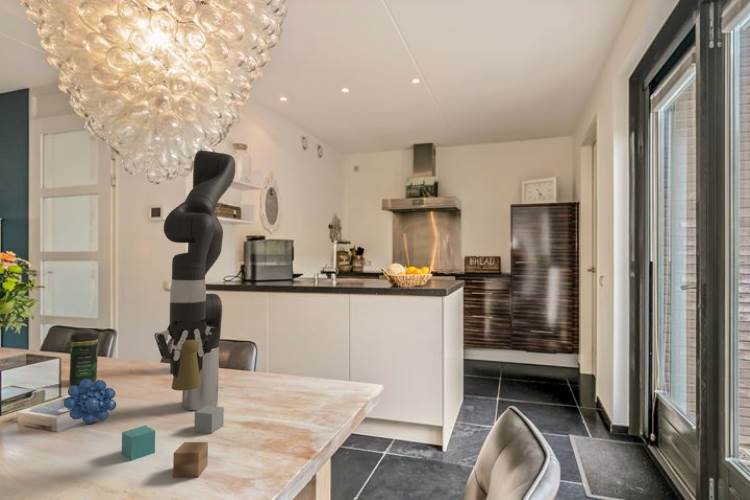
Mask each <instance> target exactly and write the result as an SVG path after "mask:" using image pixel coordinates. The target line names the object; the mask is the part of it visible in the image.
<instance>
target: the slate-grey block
mask: <svg viewBox="0 0 750 500" xmlns="http://www.w3.org/2000/svg"><path fill="white" fill-rule="evenodd" d="M224 409H225V408H224V407H223V406H217V405H216V406H205V407H203V408H202V409H200V410H195V412H194V429H193V430H194V432H195V433H202V434H214V433H215V432H217V431H218V430H220V429H221V428H222V427H224V418H225V417H224V415H225V414H224V411H225V410H224Z"/></svg>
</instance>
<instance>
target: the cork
mask: <svg viewBox="0 0 750 500" xmlns="http://www.w3.org/2000/svg"><path fill="white" fill-rule="evenodd" d="M177 345H178V343H175V346H177ZM198 349H199V342H197V341H196V340H195V339H187V340H185V342H184V343H183V344H182V347H181V350H180V351H179V352H180V357H179V359H178V360H180V365H179V372H178V376H177V377H174V376H173V375H172V377H173V379H172V384H171V390H174V391H178V392H179V391H184V390H192V389H195V388H198V387H200V385H201V384H200V376H199V368H198V360H197V351H198Z"/></svg>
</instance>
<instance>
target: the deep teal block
mask: <svg viewBox="0 0 750 500" xmlns="http://www.w3.org/2000/svg"><path fill="white" fill-rule="evenodd" d="M155 453H156V430H154V429H152V428H151V427H150V426H147V425H141V426H138V427H136V428H132V429H128V430H125V431H121V455H122V456H124V457H125V458H126V459H127V460H129V461H130V462H133V461H135V460H138V459H141V458H144V457H146V456H149V455H152V454H155Z"/></svg>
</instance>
